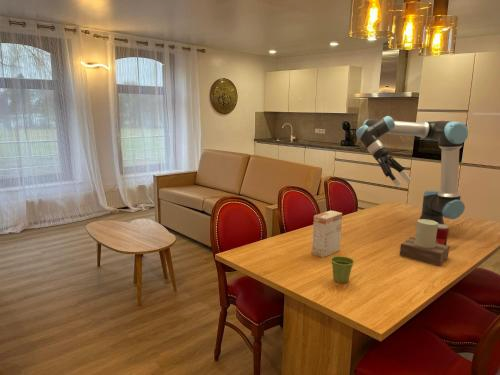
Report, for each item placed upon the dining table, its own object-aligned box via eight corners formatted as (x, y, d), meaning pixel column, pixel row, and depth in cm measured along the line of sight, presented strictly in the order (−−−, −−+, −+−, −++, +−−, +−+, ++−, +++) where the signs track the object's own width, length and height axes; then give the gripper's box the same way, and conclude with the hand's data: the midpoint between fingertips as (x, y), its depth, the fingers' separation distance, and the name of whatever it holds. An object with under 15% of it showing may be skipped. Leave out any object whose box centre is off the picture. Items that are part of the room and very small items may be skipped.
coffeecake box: (328, 246, 192) (330, 210, 188) (340, 250, 187) (343, 212, 183) (310, 253, 181) (313, 215, 177) (323, 258, 176) (325, 218, 172)
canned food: (447, 248, 192) (450, 228, 190) (431, 247, 194) (433, 227, 191) (443, 243, 199) (446, 224, 197) (427, 242, 201) (430, 222, 199)
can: (434, 243, 182) (437, 219, 180) (436, 249, 174) (439, 224, 171) (413, 240, 185) (416, 217, 183) (415, 246, 177) (418, 222, 174)
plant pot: (326, 275, 158) (327, 256, 156) (348, 274, 158) (349, 255, 157) (333, 285, 148) (334, 265, 147) (356, 284, 149) (357, 264, 147)
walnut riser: (409, 248, 192) (411, 237, 190) (447, 257, 180) (449, 246, 178) (399, 255, 181) (400, 243, 180) (439, 266, 170) (440, 253, 168)
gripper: (382, 153, 205) (407, 184, 198) (362, 157, 187) (388, 191, 180) (393, 144, 201) (418, 175, 194) (373, 147, 182) (400, 181, 176)
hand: (404, 183), depth 187 cm, fingers open, 13 cm apart
